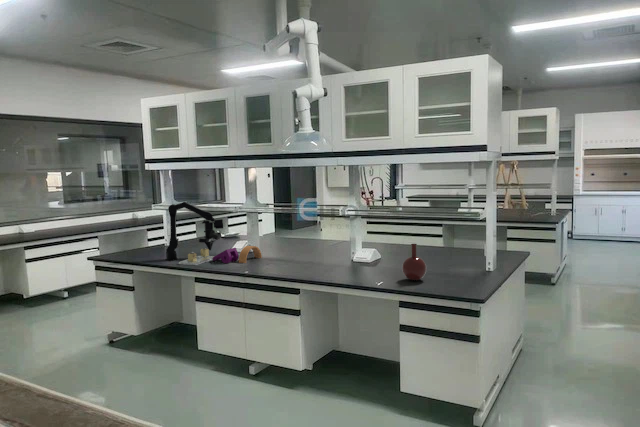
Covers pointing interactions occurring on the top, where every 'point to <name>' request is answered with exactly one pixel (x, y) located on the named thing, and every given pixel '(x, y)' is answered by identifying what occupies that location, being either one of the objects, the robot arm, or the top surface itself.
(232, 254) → the mounting bracket
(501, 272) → the top surface
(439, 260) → the top surface
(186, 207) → the robot arm
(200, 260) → the pitch plate
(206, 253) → the sliding leg
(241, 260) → the arch
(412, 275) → the round-bottom flask
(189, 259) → the fixed leg
